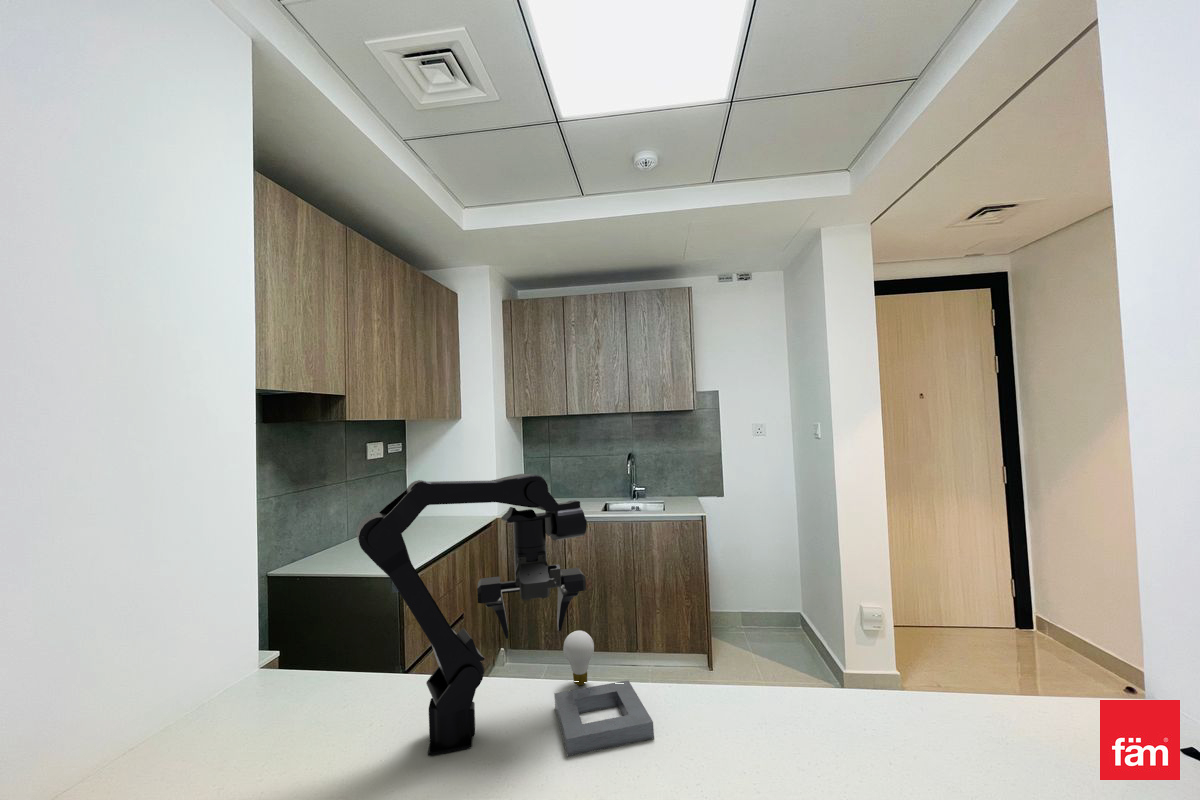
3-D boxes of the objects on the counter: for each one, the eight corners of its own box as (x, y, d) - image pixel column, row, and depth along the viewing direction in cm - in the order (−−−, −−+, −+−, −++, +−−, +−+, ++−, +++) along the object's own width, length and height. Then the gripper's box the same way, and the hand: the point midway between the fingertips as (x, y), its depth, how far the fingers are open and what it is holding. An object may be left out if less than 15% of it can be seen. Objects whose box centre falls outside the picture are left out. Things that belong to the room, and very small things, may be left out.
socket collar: (567, 756, 72) (566, 739, 72) (555, 708, 85) (554, 693, 85) (654, 738, 75) (653, 721, 75) (629, 694, 88) (628, 680, 88)
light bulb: (595, 693, 89) (592, 637, 90) (564, 694, 89) (561, 638, 90) (596, 677, 95) (593, 624, 96) (566, 678, 95) (563, 626, 96)
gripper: (475, 560, 77) (478, 662, 76) (590, 548, 81) (594, 645, 80) (476, 546, 88) (479, 635, 86) (578, 536, 92) (581, 621, 91)
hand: (533, 634), depth 86 cm, fingers open, 9 cm apart
